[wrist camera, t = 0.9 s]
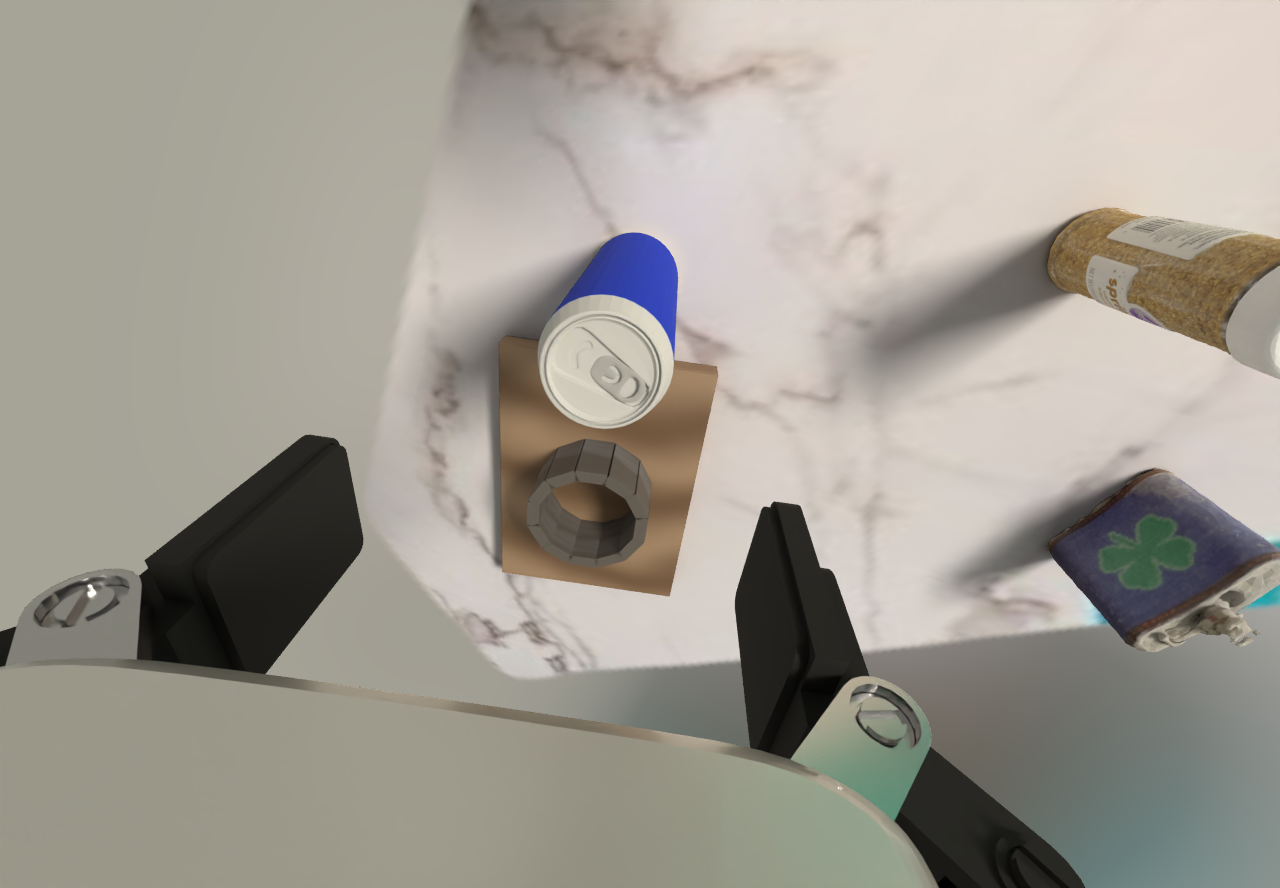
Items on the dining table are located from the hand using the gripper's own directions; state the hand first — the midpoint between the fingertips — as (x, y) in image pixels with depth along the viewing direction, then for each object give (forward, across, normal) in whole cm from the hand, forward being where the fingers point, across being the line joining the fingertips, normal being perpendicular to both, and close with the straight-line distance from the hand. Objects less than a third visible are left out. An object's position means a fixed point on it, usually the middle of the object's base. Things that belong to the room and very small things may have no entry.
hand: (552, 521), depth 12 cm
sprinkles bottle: (+23, -25, -5) cm, 35 cm away
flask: (+24, -36, +12) cm, 45 cm away
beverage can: (+23, 0, 0) cm, 23 cm away
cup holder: (+23, +1, +15) cm, 28 cm away
